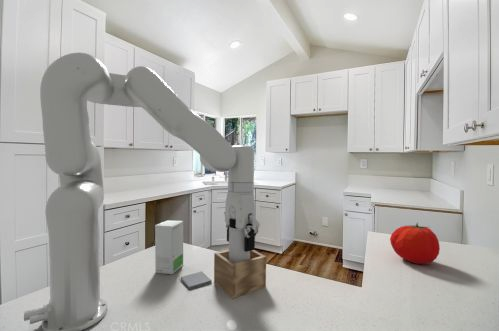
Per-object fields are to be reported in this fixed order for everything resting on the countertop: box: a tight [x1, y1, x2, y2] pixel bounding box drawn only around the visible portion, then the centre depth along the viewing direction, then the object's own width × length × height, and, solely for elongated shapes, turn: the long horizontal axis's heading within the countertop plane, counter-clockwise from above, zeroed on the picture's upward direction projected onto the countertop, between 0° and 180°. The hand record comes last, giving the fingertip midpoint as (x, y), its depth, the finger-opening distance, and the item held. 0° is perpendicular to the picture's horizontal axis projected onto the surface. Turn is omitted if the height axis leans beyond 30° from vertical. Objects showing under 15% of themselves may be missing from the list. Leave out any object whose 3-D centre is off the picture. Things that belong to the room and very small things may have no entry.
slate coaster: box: [180, 271, 212, 290], centre depth 77 cm, size 7×7×1 cm
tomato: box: [389, 222, 441, 265], centre depth 94 cm, size 16×14×14 cm
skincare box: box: [154, 219, 184, 275], centre depth 85 cm, size 8×7×16 cm
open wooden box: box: [213, 249, 267, 299], centre depth 75 cm, size 12×10×9 cm
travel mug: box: [228, 218, 250, 263], centre depth 75 cm, size 6×7×20 cm
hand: (240, 245), depth 75 cm, fingers open, 9 cm apart
